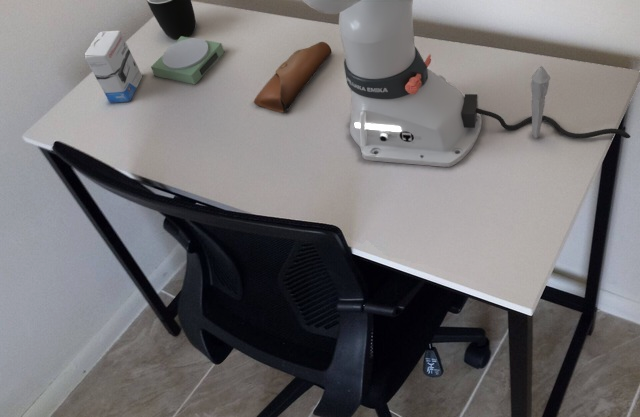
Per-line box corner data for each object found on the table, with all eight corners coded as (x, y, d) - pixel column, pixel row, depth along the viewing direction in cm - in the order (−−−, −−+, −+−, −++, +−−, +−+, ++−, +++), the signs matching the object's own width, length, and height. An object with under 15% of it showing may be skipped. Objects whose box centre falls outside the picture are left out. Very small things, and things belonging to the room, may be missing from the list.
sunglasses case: (296, 48, 132) (305, 26, 127) (325, 66, 132) (335, 45, 127) (250, 104, 123) (257, 83, 118) (281, 124, 123) (289, 104, 118)
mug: (209, 24, 146) (194, -16, 138) (181, 47, 142) (164, 6, 135) (173, 14, 152) (157, -26, 145) (146, 35, 148) (128, -4, 141)
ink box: (130, 102, 132) (105, 54, 124) (108, 103, 133) (82, 56, 125) (143, 75, 138) (120, 28, 129) (122, 77, 139) (98, 30, 130)
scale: (225, 52, 137) (221, 40, 135) (196, 84, 132) (191, 73, 130) (184, 45, 142) (180, 33, 140) (154, 76, 137) (149, 64, 135)
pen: (535, 128, 106) (540, 58, 95) (548, 136, 104) (555, 65, 94) (524, 136, 105) (528, 66, 95) (537, 144, 103) (542, 74, 93)
